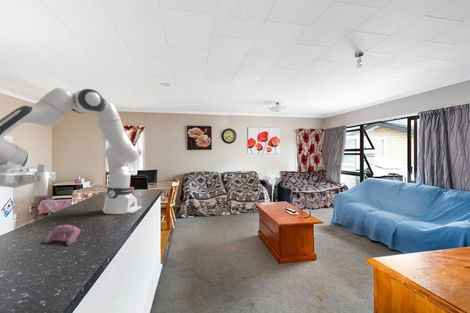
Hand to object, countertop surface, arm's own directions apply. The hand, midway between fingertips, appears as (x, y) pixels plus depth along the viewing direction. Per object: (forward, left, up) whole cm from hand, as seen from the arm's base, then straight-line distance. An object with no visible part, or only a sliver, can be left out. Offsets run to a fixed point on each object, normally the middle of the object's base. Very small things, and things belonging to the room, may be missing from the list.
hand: (43, 178), depth 87 cm
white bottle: (0, -1, -6) cm, 7 cm away
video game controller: (+3, +13, -22) cm, 26 cm away
